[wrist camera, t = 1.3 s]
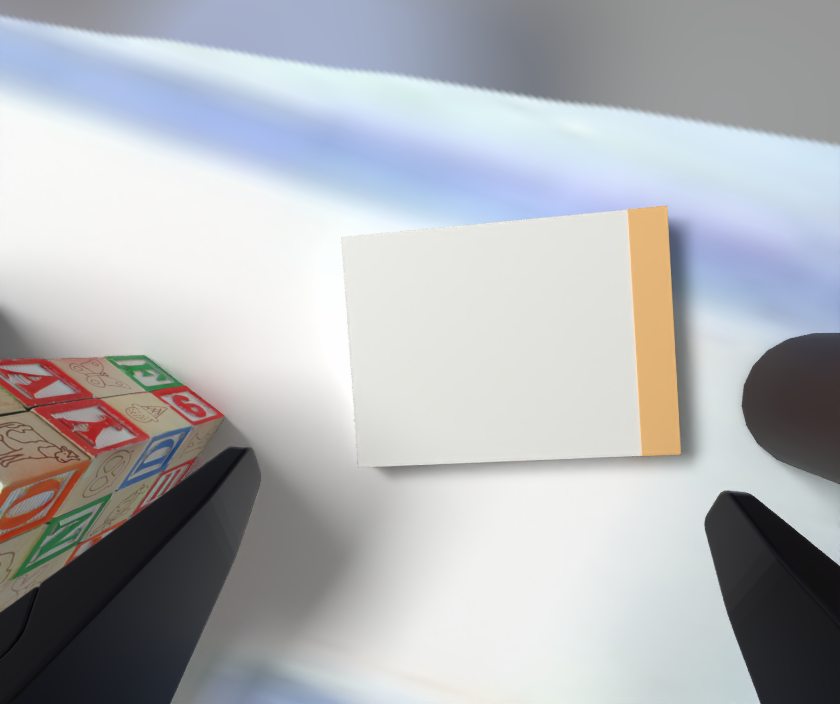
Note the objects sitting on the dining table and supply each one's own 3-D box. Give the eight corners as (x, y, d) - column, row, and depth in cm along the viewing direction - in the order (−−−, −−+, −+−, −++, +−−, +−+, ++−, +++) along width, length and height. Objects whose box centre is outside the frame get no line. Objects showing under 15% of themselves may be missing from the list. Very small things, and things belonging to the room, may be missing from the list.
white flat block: (665, 446, 22) (681, 454, 21) (364, 459, 24) (358, 467, 22) (652, 215, 22) (666, 205, 20) (348, 243, 24) (340, 236, 22)
